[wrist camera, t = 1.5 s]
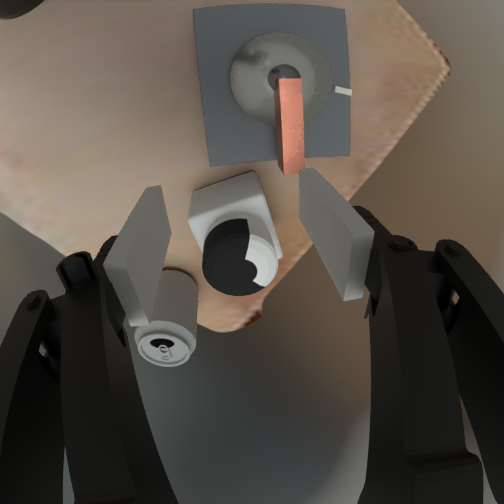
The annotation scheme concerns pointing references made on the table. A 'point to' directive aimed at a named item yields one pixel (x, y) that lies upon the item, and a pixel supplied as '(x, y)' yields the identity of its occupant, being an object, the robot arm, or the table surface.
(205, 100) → the plate
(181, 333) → the can
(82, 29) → the table surface
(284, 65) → the dial
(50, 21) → the table surface
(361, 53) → the table surface
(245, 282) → the container
